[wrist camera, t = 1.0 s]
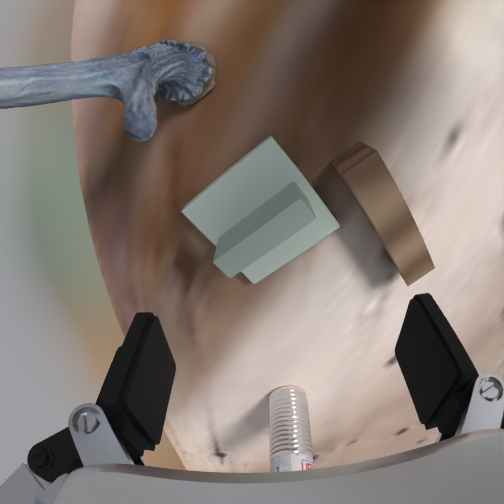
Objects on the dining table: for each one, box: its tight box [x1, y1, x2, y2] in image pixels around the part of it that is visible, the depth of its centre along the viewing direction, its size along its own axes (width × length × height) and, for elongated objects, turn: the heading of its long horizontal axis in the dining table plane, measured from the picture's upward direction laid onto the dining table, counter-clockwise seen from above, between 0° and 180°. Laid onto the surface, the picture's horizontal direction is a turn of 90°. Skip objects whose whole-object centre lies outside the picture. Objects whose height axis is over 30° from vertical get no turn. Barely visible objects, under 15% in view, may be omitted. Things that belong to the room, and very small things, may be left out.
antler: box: [0, 40, 216, 142], centre depth 14 cm, size 12×8×25 cm
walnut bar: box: [331, 141, 435, 286], centre depth 30 cm, size 16×4×5 cm, turn 39°
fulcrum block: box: [181, 135, 341, 284], centre depth 30 cm, size 12×12×6 cm
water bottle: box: [269, 386, 314, 472], centre depth 39 cm, size 7×7×25 cm
